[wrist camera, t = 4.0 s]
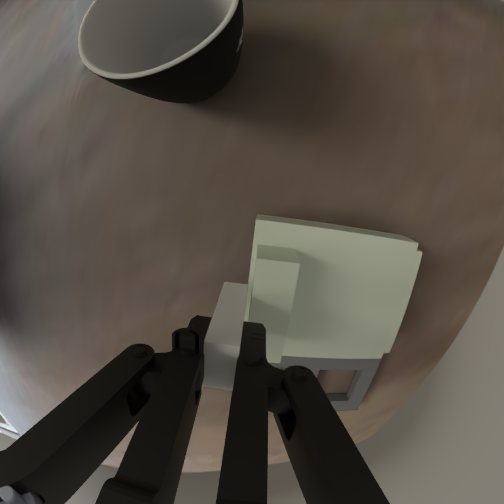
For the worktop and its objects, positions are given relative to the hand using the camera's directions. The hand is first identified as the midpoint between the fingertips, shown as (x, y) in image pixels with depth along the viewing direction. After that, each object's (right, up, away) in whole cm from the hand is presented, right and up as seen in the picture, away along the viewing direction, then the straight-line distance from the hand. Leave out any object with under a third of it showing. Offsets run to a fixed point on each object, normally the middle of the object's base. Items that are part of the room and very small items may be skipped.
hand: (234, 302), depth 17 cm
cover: (+7, 0, +4) cm, 8 cm away
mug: (-4, +20, +1) cm, 20 cm away
